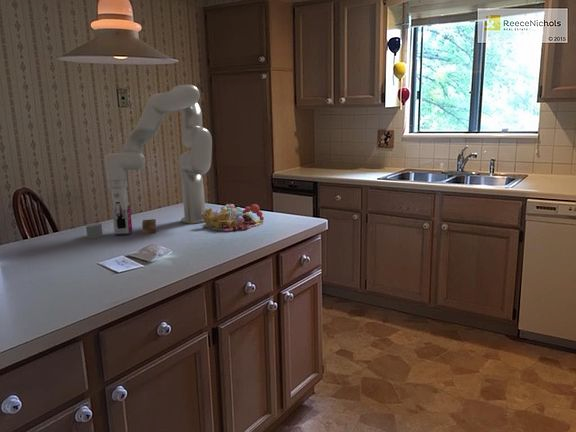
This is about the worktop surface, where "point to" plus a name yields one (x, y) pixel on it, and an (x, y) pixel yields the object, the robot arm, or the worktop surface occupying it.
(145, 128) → the robot arm
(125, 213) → the supplement box
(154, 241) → the worktop surface
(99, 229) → the slate block
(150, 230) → the walnut block
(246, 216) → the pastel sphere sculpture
